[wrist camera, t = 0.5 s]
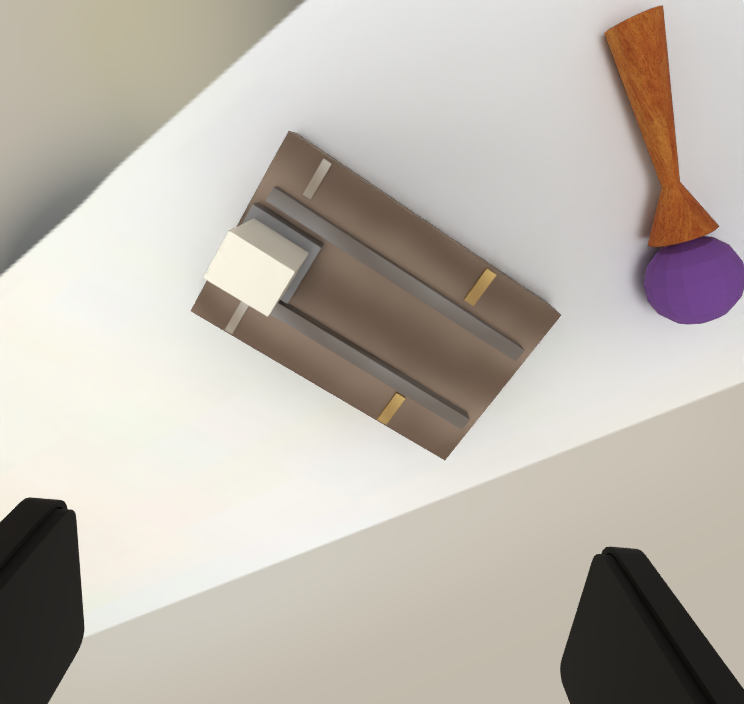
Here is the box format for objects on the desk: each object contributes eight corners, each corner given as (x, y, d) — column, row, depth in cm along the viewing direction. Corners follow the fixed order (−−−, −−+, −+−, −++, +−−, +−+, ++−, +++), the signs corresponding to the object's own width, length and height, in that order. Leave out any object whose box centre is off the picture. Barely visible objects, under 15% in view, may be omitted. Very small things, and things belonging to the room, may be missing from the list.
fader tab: (258, 202, 35) (226, 213, 28) (323, 244, 36) (309, 265, 29) (227, 258, 36) (189, 283, 29) (291, 297, 37) (269, 331, 30)
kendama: (712, -20, 30) (776, 309, 35) (645, 22, 36) (708, 299, 41) (616, 18, 30) (694, 344, 34) (565, 54, 35) (637, 329, 40)
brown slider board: (295, 132, 36) (285, 129, 33) (548, 303, 40) (567, 319, 36) (203, 300, 41) (184, 315, 37) (440, 441, 44) (446, 468, 40)
